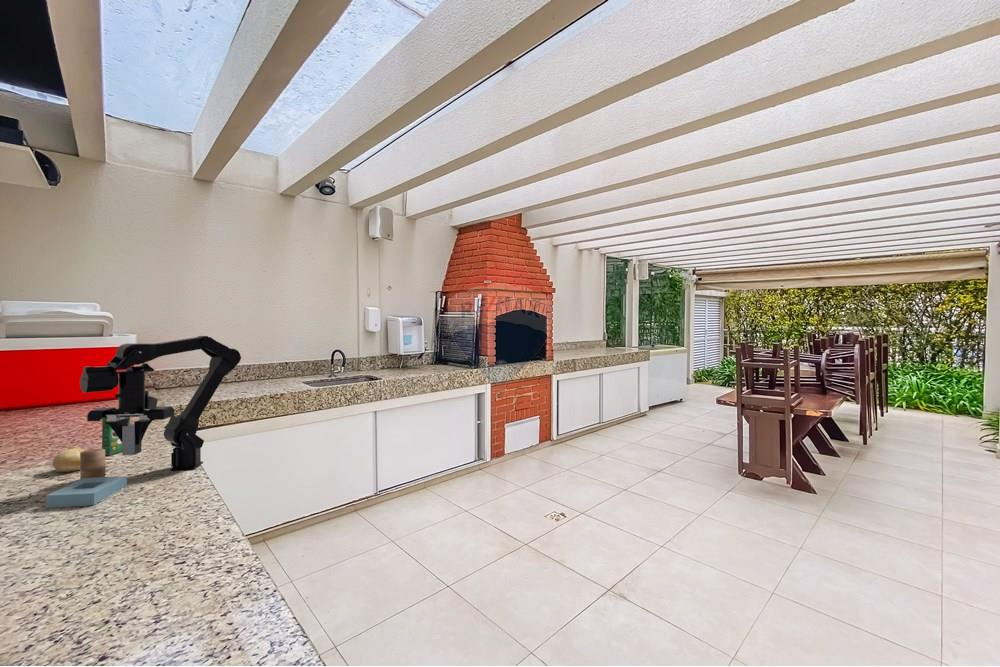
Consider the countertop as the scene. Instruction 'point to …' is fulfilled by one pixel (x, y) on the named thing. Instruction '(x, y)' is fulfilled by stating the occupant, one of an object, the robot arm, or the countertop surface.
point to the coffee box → (110, 439)
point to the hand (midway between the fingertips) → (132, 444)
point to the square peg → (129, 440)
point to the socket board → (85, 492)
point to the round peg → (92, 463)
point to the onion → (68, 460)
